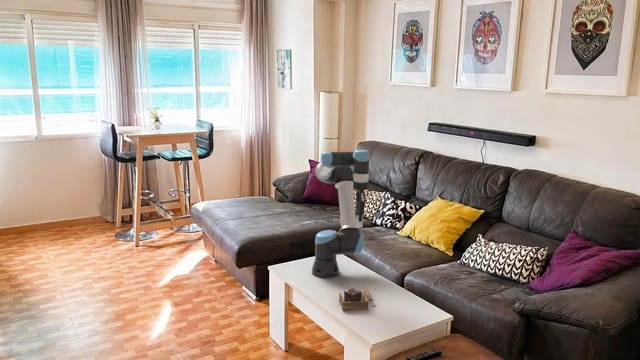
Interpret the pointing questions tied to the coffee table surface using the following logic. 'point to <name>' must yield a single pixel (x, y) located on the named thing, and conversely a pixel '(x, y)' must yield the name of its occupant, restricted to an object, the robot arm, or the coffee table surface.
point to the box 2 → (354, 303)
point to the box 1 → (352, 295)
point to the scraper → (369, 298)
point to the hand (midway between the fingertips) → (359, 227)
